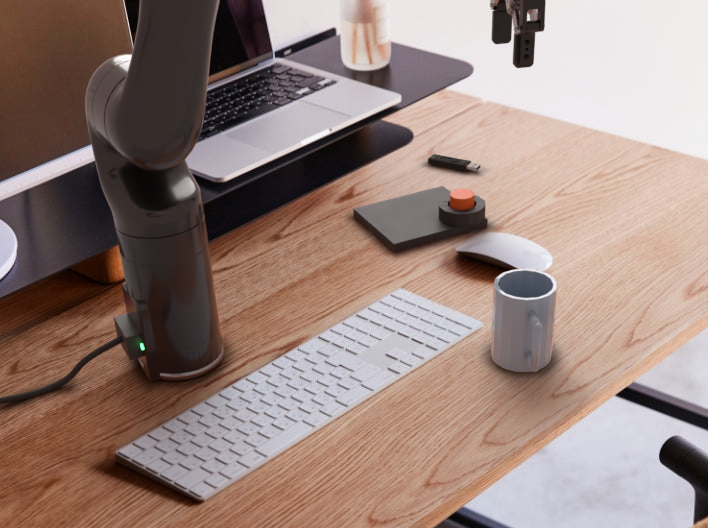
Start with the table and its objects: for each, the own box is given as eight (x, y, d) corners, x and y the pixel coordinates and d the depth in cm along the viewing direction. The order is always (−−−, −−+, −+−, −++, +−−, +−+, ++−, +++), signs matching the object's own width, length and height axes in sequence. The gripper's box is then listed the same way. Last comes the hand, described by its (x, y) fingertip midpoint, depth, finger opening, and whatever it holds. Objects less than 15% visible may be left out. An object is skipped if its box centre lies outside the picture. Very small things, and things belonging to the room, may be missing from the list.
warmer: (396, 254, 137) (395, 233, 135) (353, 216, 146) (352, 196, 144) (493, 227, 142) (494, 206, 140) (445, 192, 151) (446, 172, 149)
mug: (485, 342, 119) (488, 271, 114) (543, 337, 120) (548, 266, 114) (503, 390, 112) (507, 316, 107) (565, 384, 112) (571, 311, 107)
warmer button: (457, 213, 140) (457, 201, 139) (445, 204, 142) (445, 192, 141) (478, 207, 141) (479, 195, 140) (466, 198, 143) (466, 186, 142)
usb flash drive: (481, 168, 157) (481, 161, 156) (475, 173, 155) (475, 166, 155) (433, 159, 160) (433, 152, 160) (427, 164, 159) (427, 157, 158)
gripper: (466, -109, 118) (464, 39, 128) (503, -82, 107) (497, 78, 116) (532, -115, 119) (524, 32, 128) (575, -88, 107) (563, 71, 117)
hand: (511, 54), depth 122 cm, fingers open, 8 cm apart
